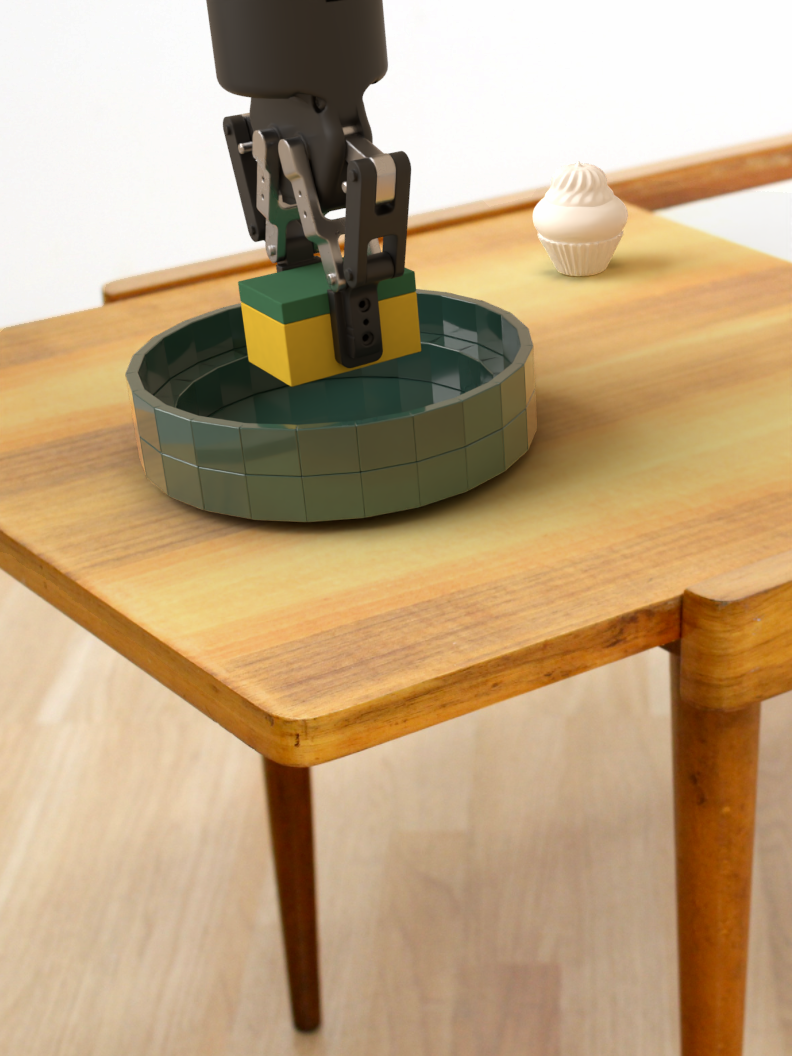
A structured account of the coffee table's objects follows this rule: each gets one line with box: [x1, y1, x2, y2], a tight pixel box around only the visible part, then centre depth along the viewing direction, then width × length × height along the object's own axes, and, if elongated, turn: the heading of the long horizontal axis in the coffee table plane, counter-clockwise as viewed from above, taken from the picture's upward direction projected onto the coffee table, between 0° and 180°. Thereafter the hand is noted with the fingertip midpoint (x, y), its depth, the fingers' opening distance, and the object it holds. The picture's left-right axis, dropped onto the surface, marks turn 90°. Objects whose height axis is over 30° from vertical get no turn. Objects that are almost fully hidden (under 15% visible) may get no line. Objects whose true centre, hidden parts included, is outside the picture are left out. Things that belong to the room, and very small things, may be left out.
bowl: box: [125, 288, 538, 523], centre depth 75 cm, size 19×19×5 cm
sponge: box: [237, 256, 421, 387], centre depth 73 cm, size 7×4×4 cm, turn 125°
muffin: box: [532, 160, 629, 277], centre depth 99 cm, size 6×6×7 cm
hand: (333, 346), depth 74 cm, fingers closed on sponge, 4 cm apart
